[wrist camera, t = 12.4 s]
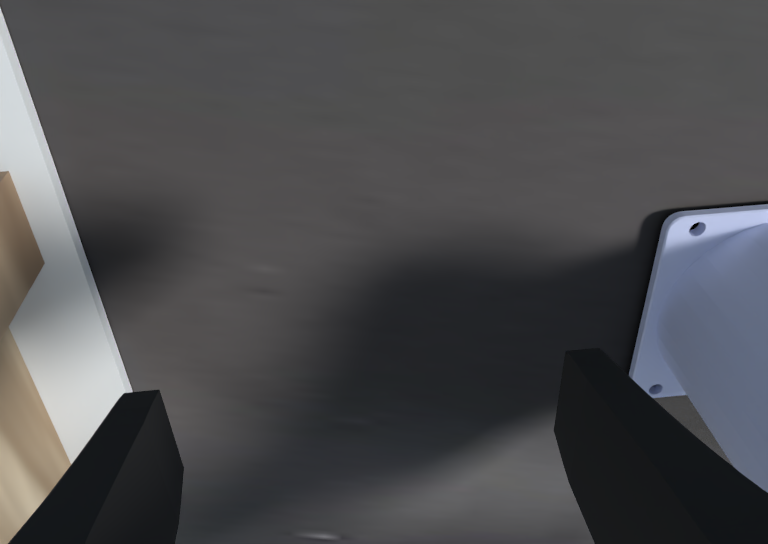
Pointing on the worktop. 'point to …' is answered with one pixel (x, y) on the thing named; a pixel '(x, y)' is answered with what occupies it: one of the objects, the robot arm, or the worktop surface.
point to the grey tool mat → (56, 279)
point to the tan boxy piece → (21, 381)
